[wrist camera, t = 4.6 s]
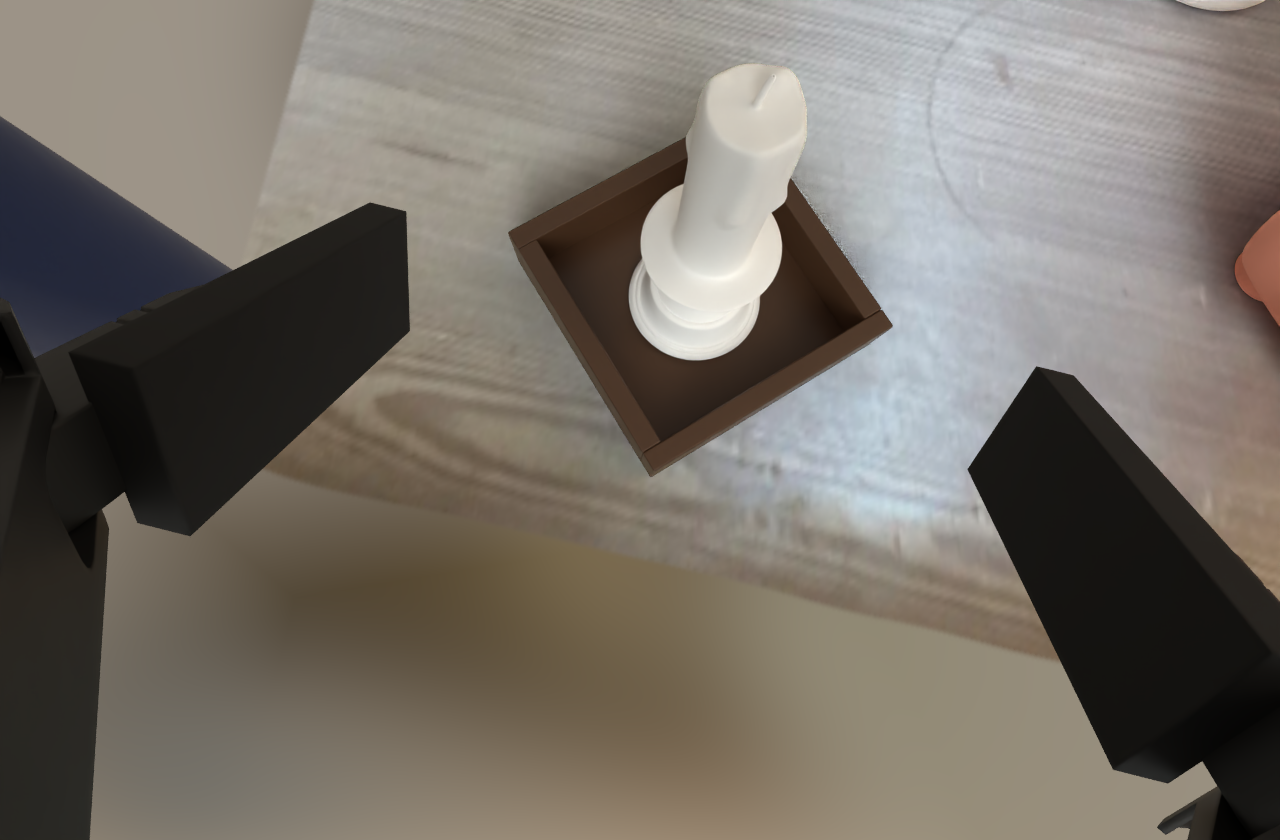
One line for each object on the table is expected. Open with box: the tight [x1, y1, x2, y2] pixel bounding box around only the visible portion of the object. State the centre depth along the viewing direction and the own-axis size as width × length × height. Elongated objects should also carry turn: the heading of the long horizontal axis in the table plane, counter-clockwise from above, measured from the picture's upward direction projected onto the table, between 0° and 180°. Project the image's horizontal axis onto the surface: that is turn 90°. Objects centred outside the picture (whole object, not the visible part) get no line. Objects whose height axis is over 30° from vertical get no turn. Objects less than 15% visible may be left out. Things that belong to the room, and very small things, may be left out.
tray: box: [508, 137, 893, 477], centre depth 24 cm, size 11×11×2 cm
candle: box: [629, 63, 807, 360], centre depth 19 cm, size 5×5×12 cm
